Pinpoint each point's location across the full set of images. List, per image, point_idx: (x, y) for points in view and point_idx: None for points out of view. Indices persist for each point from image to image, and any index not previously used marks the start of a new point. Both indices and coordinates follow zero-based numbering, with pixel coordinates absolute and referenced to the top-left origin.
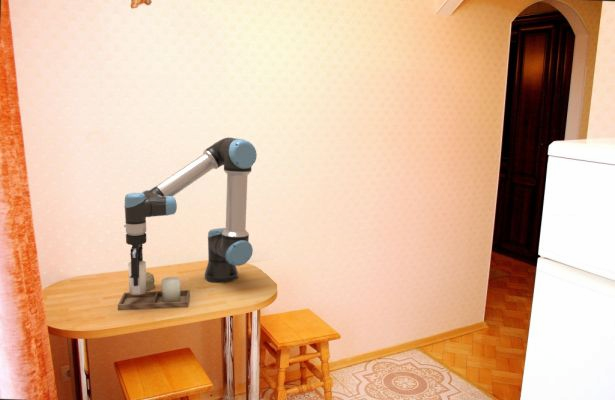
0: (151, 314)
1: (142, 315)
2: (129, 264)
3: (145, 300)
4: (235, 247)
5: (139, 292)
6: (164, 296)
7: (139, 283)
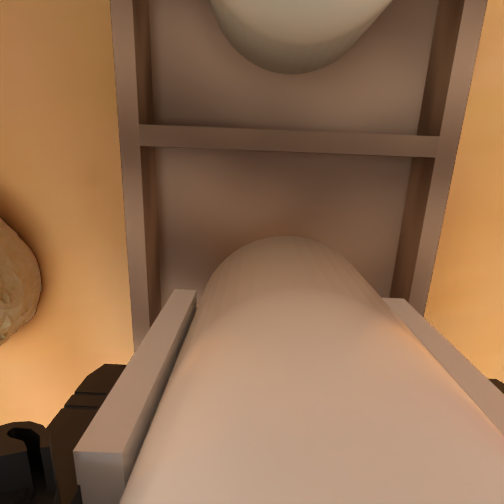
0: (485, 157)
1: (482, 223)
2: None
3: (235, 229)
4: None
5: (408, 308)
6: (375, 18)
7: (478, 375)
